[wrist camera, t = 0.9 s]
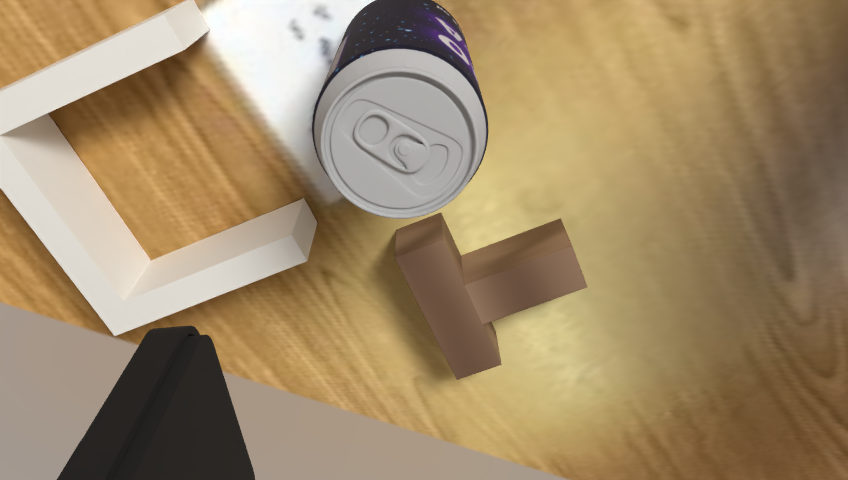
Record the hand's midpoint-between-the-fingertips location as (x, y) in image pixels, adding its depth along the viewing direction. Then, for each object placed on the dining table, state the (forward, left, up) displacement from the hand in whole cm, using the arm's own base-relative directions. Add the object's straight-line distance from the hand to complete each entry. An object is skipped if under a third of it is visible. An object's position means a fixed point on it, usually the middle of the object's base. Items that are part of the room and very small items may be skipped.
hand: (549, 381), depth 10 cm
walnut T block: (+3, +12, -25) cm, 28 cm away
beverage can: (+3, 0, -25) cm, 25 cm away
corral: (+16, 0, -25) cm, 29 cm away
